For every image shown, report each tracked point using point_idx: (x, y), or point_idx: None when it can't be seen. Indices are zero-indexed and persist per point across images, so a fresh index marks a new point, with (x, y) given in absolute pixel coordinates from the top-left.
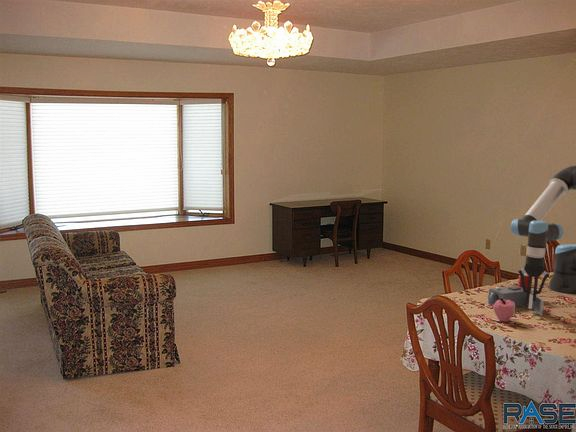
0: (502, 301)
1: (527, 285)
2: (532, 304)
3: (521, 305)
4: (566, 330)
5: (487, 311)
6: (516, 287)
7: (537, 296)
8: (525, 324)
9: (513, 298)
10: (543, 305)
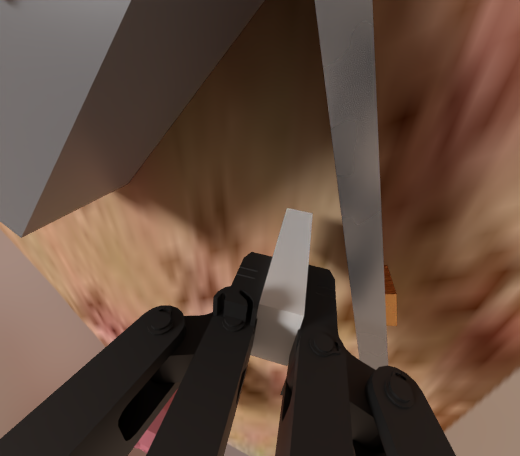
0: None
1: None
2: (310, 230)
3: (236, 34)
4: None
5: (92, 254)
6: None
7: (366, 272)
8: (262, 374)
9: (127, 129)
10: (392, 323)
